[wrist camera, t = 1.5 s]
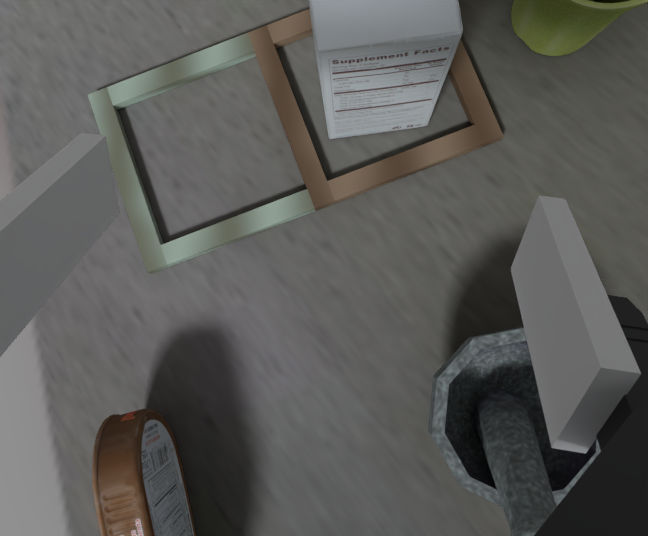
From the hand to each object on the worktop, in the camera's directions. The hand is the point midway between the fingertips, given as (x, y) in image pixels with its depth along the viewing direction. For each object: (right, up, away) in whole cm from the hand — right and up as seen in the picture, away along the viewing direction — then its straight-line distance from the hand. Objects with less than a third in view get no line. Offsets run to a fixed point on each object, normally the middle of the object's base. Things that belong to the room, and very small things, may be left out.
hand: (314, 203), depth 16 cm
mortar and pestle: (+11, -12, +19) cm, 25 cm away
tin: (-10, -19, +20) cm, 29 cm away
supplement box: (+4, +11, +22) cm, 25 cm away
